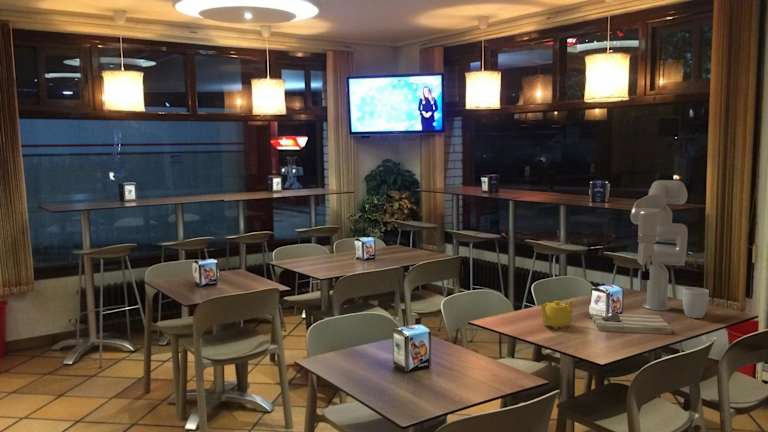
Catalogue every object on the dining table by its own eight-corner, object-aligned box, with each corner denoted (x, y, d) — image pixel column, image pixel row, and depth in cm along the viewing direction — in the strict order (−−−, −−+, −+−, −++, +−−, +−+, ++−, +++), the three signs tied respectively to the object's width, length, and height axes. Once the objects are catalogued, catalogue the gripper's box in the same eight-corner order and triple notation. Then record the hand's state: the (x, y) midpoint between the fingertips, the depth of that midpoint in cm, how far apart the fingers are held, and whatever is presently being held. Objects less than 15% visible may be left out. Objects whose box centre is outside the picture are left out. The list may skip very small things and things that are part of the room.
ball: (604, 312, 296) (616, 314, 296) (603, 325, 294) (616, 327, 294) (609, 310, 290) (622, 312, 290) (609, 323, 288) (622, 326, 289)
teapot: (559, 318, 303) (560, 294, 302) (583, 326, 291) (584, 301, 289) (526, 324, 293) (527, 299, 292) (550, 333, 281) (550, 307, 279)
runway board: (591, 318, 304) (591, 313, 304) (659, 321, 300) (659, 315, 299) (598, 330, 284) (598, 325, 284) (671, 333, 280) (671, 328, 280)
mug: (692, 311, 317) (693, 284, 316) (715, 315, 309) (717, 288, 307) (677, 316, 308) (678, 289, 306) (700, 321, 299) (702, 293, 298)
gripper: (634, 235, 294) (632, 275, 296) (642, 241, 280) (640, 283, 282) (651, 236, 293) (650, 276, 295) (660, 241, 278) (658, 284, 281)
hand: (645, 279), depth 289 cm, fingers closed
